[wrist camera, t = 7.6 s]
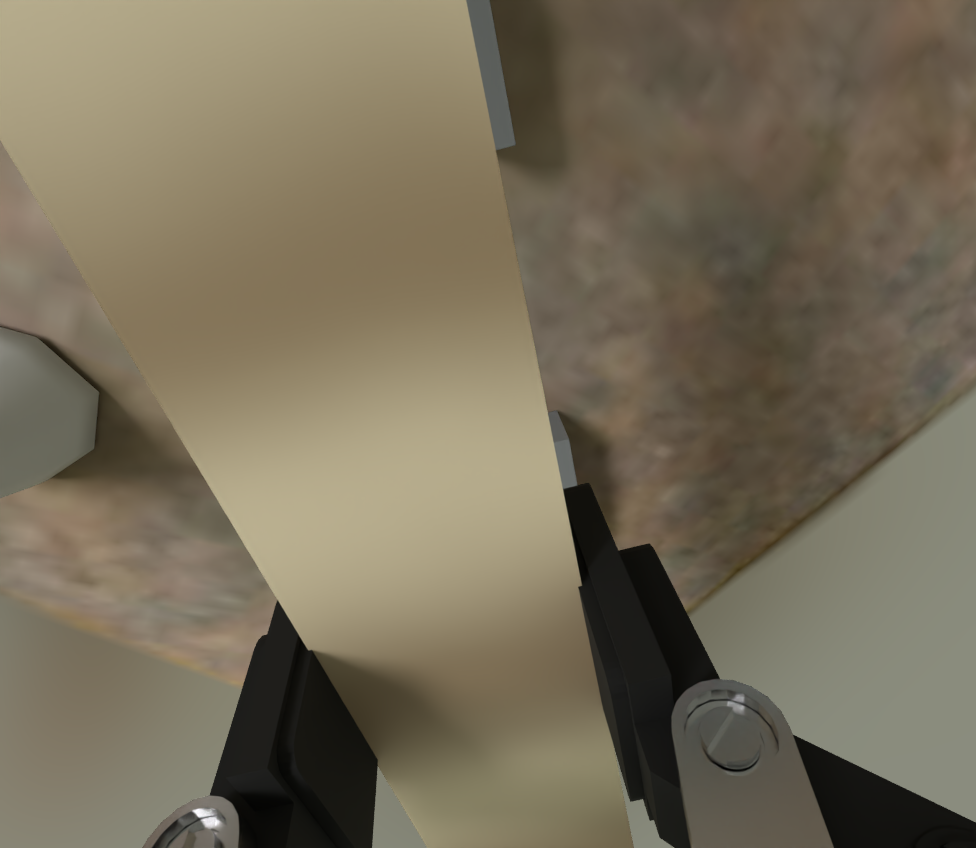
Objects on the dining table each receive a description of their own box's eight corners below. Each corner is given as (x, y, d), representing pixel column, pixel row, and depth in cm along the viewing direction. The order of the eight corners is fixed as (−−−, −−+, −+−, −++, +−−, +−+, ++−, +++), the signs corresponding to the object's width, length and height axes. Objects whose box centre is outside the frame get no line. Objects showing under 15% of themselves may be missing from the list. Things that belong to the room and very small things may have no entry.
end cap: (505, 139, 20) (515, 144, 18) (289, 196, 21) (274, 207, 18) (461, -97, 17) (466, -125, 15) (205, -28, 17) (174, -44, 15)
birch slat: (88, -46, 7) (-177, -154, 4) (411, -135, 7) (403, -318, 4) (475, 794, 17) (486, 945, 14) (606, 764, 17) (646, 910, 14)
